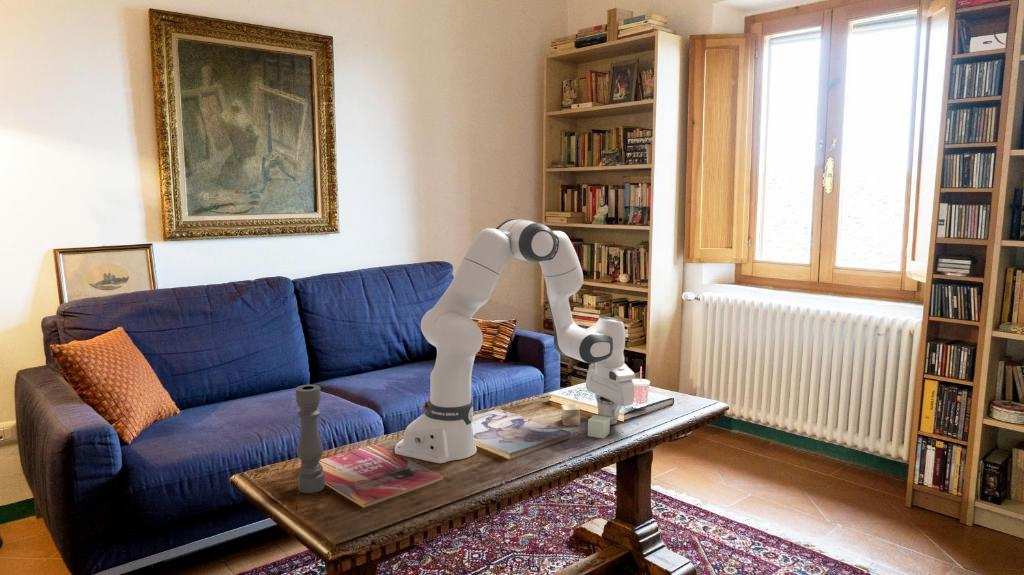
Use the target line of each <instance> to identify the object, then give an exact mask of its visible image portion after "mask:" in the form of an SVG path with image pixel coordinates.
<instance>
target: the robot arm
mask: <svg viewBox="0 0 1024 575" xmlns="http://www.w3.org/2000/svg"><path fill="white" fill-rule="evenodd" d="M512 258H514V259H517V260H520V261H527V262H531V263H539V265H540V269H541V272H542V275H543V278H544V282H545V285H546V288H545V290H546V292H545V293H546V300H547V304H548V310H549V313H550V316H551V321H552V325H553V344H554V345H553V346H554V348H555V350H556V351H557V353H558V354H560V355H561V356H564V357H568V358H572V359H574V360H576V361H580V362H583V363H586V364H588V370H587V373H586V381H585V388H586V390H587V391H588V392H590V393H592V394H594V397H595V400H596V402H597V404H596V405H597V408H598V400H599V398H600V397H603V398H606V399H608V400H610V401H612V402H614V406H615V408H614V410H612V415H614V416H618V417H619V416H620V410H621V409H622V407H630V406H632V404H633V402H634V383H633V381H632V380H633V379H636V375H635V372H634V371H633V370H632V369H631V368H630V367H629V366H628V365H627V364H626V363H625V354H624V350H625V347H626V330H625V324H624V322H623V321H622V320H621V319H619V318H616V317H611V316H605V315H604V316H600V317H598V320H597V321H596V322H595V323H594V324H592V325H591V326H590V327H588V328H583V327H581V326H579V325H578V324H577V323H575V320H574V319H573V315H572V310H571V306H570V301H569V300H570V297H572V296H573V295H575V294H576V293H578V291H580V289H581V288H582V287H583V284H584V273H583V268H582V265H581V262H580V260H579V256H578V254H577V252H576V249H575V247H574V245H573V243H572V241H571V240H570V238H569V236H568V235H567V234H566V233H565V232H564V231H561V230H552V229H551V228H550V227H548V226H547V225H545V224H543V223H540V222H536V221H533V220H528V219H518V218H509V219H507V220H504V221H503V222H501V223H500V224H499V225H498V226H497V227H496V228H495V227H494V228H491V227H487V228H483V229H482V230H481V231H479V233H478V234H477V235H476V236H475V237H474V239H473V241H472V242H471V244H470V246H469V247H468V249H467V251H466V253H465V255H464V256H463V258H462V260H461V262H460V265H459V267H458V269H457V270H456V272H455V275H454V277H453V278H452V281H451V283H450V284H449V285H448V288H447V289H446V290H445V292H444V293H443V294H442V295H441V296H440V298H439V299H438V301H437V302H436V304H435V305H434V306H433V307H431V309H430V310H427V311H426V312H425V313H424V314H423V316H422V318H421V321H420V330H421V332H422V335H423V337H424V338H425V340H426V341H427V343H429V344H431V345H432V346H433V347H435V348H436V358H435V363H434V367H433V370H432V371H431V372H430V375H429V376H430V377H429V378H430V379H429V380H430V382H429V383H430V384H429V385H430V386H429V387H430V389H429V390H430V392H429V393H430V397H428V399H427V401H425V402H424V403H423V405H422V406H421V407H422V409H421V410H422V411H424V413H422V414H420V416H418V417H417V418H416V419H414V420H413V421H412V422H410V423H409V424H408V425H407V427H406V428H405V430H404V433H403V437H402V439H401V440H399V441H398V442H397V443H396V445H395V446H394V453H395V455H400V456H404V457H408V458H413V459H417V460H422V461H425V462H431V463H436V464H444V463H448V462H451V461H458V460H463V459H466V458H471V456H473V455H475V454H476V453H477V451H478V448H477V446H476V441H475V438H474V430H473V429H474V428H473V423H472V422H473V420H474V419H473V417H474V407H473V404H474V403H473V400H472V372H473V368H474V362H475V358H476V355H477V354H478V352H479V351H480V350H481V348H482V345H483V342H484V335H483V332H482V330H481V328H480V327H479V326H478V324H477V323H476V322H475V321H474V320H473V319H472V318H473V316H474V315H475V314H476V313H477V311H478V310H479V309H480V308H482V306H484V305H486V304H487V303H488V302H489V300H490V298H491V296H492V293H493V292H494V290H495V288H496V285H497V284H498V281H499V279H500V277H501V275H502V272H503V271H504V267H505V266H506V264H507V263H508V262H509V261H510V260H511V259H512Z"/></svg>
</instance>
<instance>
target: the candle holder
mask: <svg viewBox="0 0 1024 575" xmlns="http://www.w3.org/2000/svg"><path fill="white" fill-rule="evenodd" d="M321 396H322V394H321V386H320V385H317V384H303V385H299V386H296V387H295V402H296V405H297V406H298V408H299V411H298V412H297V417H298V418H299V419H300V434H299V439H298V443H297V444H298V445H297V448H296V454H297V457H298V458H299V460H300V463H301V465H300V467H299V468H298V472H299V473H298V475H297V489H298V491H299V492H301V493H304V494H312V493H314V494H315V493H318V492H320V491H323V489H324V488H325V486H326V485H325V472H324V471H323V470H324V466H322V464H321V463H320V462H321V458H322V455H323V454H324V446H323V443H322V439H321V436H320V432H319V426H318V423H319V422H318V418H319V416H320V415H321V411H320V409H318V408H319V405H320V403H321V398H322V397H321Z"/></svg>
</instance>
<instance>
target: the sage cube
mask: <svg viewBox="0 0 1024 575" xmlns="http://www.w3.org/2000/svg"><path fill="white" fill-rule="evenodd" d="M610 426H611V425H610V417H604V416H598V414H593V415H592V416H591V417H590V418H589V419H588V420H587V437H591V438H598V439H605V438H607V436H609V435H610V429H611V428H610Z"/></svg>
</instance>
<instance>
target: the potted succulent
mask: <svg viewBox="0 0 1024 575" xmlns="http://www.w3.org/2000/svg"><path fill="white" fill-rule="evenodd" d="M597 404H598V407H597V415H598V416H604V417H610V426H611V425H615V424H617V422H618V421H619V416H614V415H612V410H614V408H615V406H614V402H612V401H610V400H608V399H606V398H603V397H600V398H599V400H598V403H597Z"/></svg>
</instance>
